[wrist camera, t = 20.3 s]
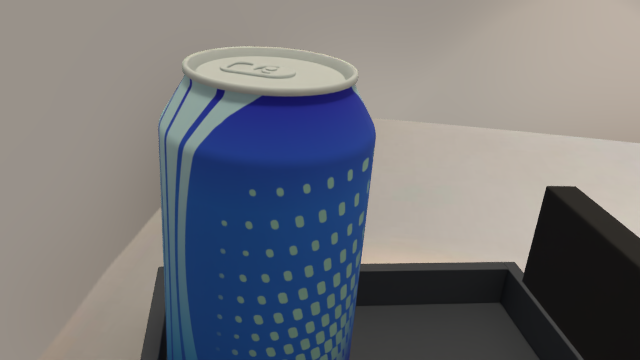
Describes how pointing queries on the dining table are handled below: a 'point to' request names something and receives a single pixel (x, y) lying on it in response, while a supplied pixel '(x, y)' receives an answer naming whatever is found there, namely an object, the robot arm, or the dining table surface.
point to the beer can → (263, 205)
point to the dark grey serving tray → (430, 315)
